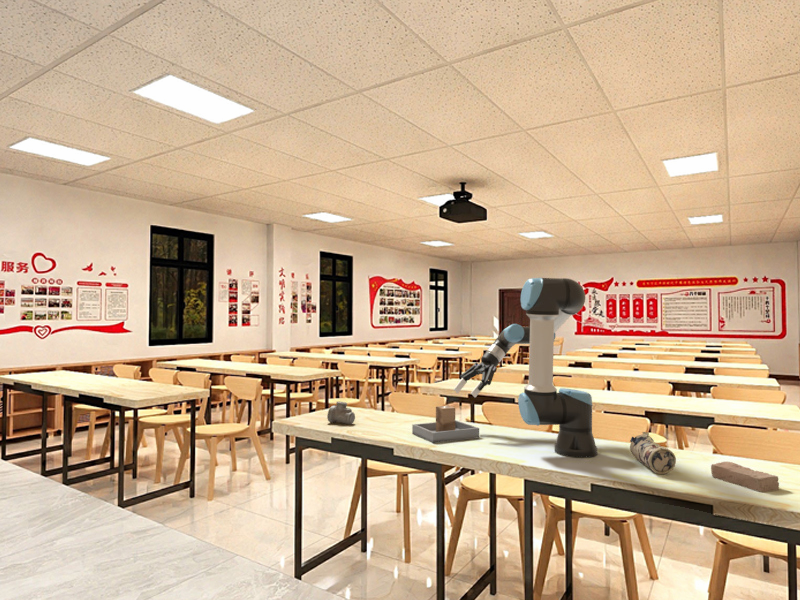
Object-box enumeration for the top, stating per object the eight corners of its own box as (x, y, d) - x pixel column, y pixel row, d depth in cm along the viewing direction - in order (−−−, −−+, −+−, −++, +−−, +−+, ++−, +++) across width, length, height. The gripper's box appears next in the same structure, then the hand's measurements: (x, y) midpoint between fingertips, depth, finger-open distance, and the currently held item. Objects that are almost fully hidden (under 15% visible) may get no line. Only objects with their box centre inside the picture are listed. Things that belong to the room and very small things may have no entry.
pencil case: (628, 458, 191) (628, 430, 191) (653, 458, 190) (653, 431, 190) (650, 476, 169) (650, 445, 169) (678, 477, 168) (678, 446, 168)
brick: (780, 490, 156) (780, 474, 156) (761, 493, 153) (761, 477, 153) (728, 475, 172) (727, 460, 172) (709, 478, 168) (709, 463, 169)
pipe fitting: (325, 422, 247) (328, 400, 248) (334, 421, 254) (338, 399, 255) (346, 428, 241) (349, 405, 242) (355, 426, 248) (359, 404, 249)
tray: (479, 437, 220) (479, 428, 220) (433, 443, 211) (433, 432, 211) (456, 429, 237) (456, 420, 237) (412, 433, 227) (412, 424, 227)
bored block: (455, 434, 222) (455, 407, 223) (442, 435, 220) (443, 408, 220) (447, 431, 228) (447, 405, 228) (435, 432, 225) (435, 406, 225)
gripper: (515, 365, 225) (486, 403, 218) (481, 361, 248) (453, 395, 240) (505, 353, 223) (475, 391, 216) (471, 349, 245) (443, 384, 238)
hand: (464, 393), depth 228 cm, fingers open, 13 cm apart
